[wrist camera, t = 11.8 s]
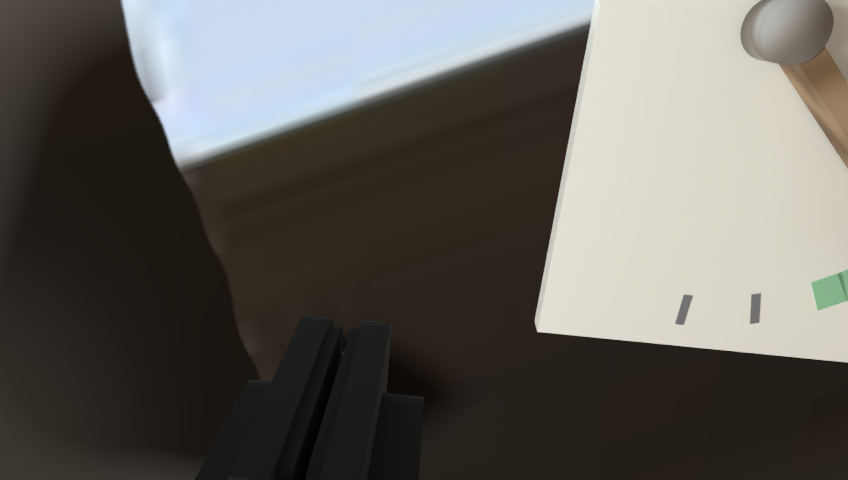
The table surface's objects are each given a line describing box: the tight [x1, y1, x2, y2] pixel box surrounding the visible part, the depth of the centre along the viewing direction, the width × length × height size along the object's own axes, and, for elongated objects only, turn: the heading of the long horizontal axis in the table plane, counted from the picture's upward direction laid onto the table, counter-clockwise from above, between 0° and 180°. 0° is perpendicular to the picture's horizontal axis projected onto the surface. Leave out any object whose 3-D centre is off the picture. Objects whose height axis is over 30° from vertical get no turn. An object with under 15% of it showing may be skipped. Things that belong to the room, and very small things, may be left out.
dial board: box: [535, 0, 848, 362], centre depth 38 cm, size 25×27×2 cm
